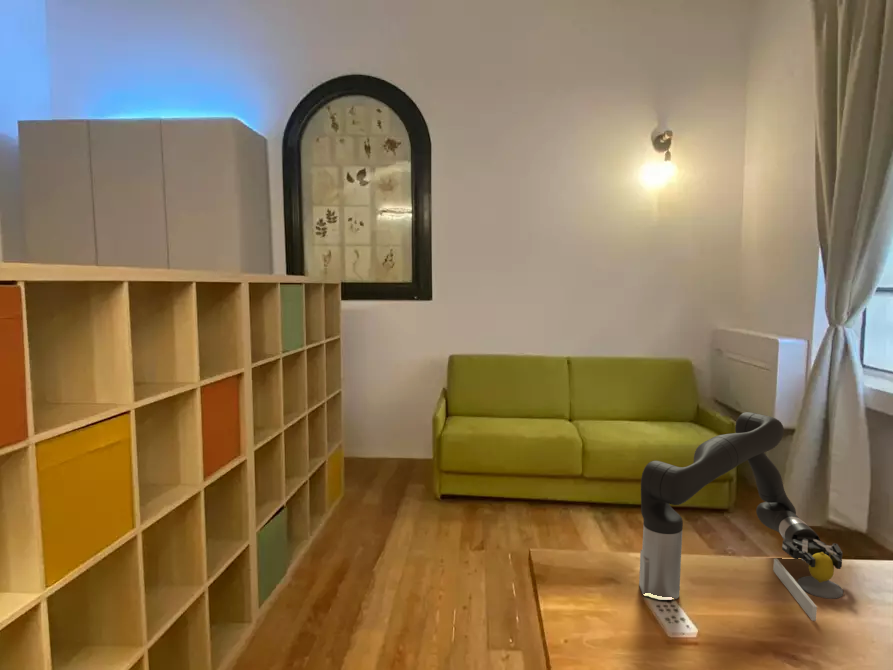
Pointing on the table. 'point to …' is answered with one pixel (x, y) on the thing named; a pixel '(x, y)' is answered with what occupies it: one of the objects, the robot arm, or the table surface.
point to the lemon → (822, 567)
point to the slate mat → (820, 588)
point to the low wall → (795, 590)
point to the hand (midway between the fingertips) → (826, 564)
